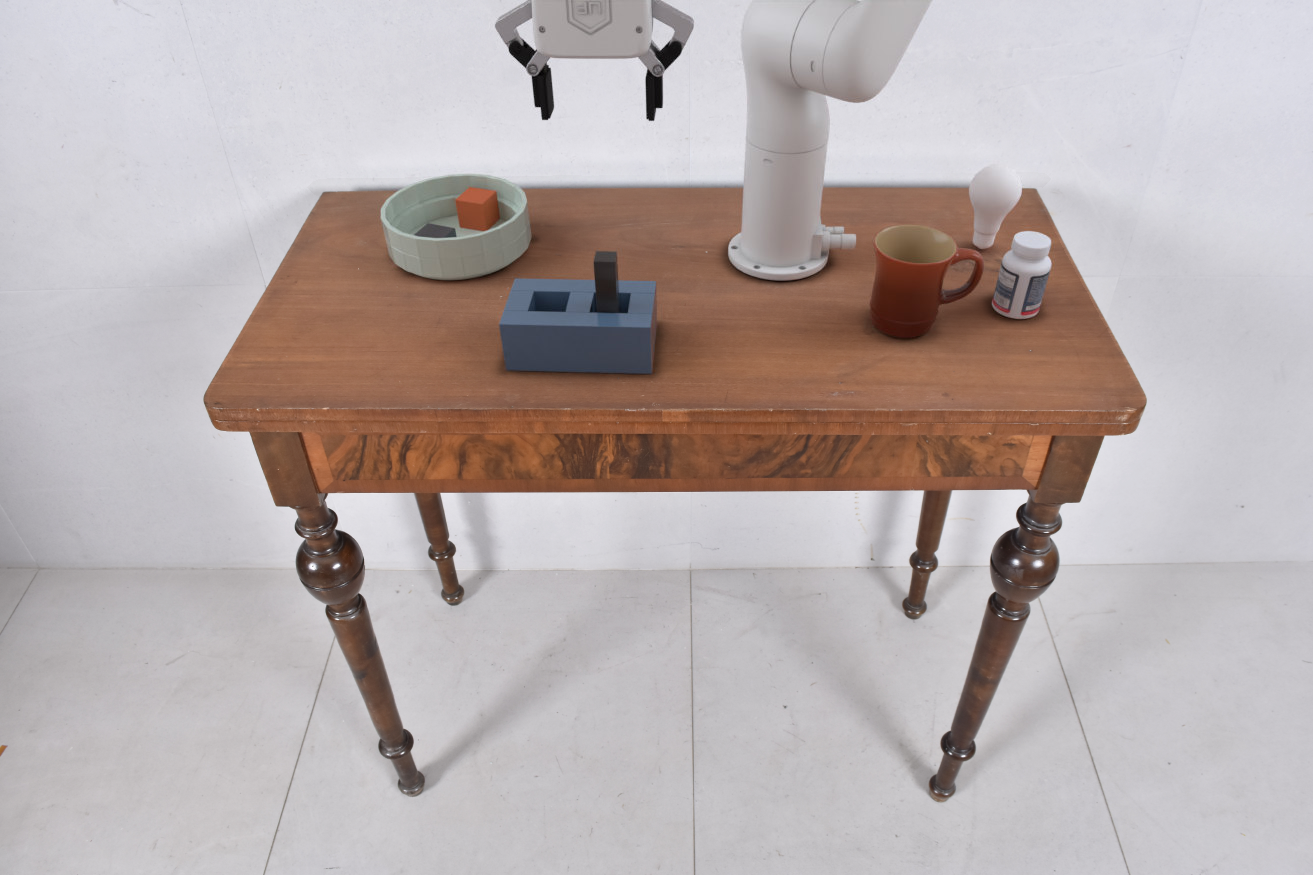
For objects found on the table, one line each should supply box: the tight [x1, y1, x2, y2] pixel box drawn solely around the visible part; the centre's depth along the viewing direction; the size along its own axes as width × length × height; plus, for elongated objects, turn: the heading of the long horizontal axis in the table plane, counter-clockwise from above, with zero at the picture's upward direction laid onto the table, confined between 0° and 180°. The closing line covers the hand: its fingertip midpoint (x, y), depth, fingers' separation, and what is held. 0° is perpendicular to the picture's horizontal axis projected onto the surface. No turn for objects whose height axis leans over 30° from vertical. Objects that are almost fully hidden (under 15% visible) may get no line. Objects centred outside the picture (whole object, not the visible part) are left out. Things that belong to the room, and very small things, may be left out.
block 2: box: [455, 187, 500, 231], centre depth 123 cm, size 4×4×4 cm
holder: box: [498, 277, 658, 375], centre depth 101 cm, size 9×16×6 cm, turn 86°
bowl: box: [380, 173, 532, 281], centre depth 119 cm, size 18×18×6 cm
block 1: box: [414, 223, 457, 238], centre depth 115 cm, size 4×4×4 cm
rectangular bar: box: [593, 250, 620, 313], centre depth 98 cm, size 2×2×12 cm
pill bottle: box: [991, 230, 1052, 320], centre depth 105 cm, size 5×5×9 cm
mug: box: [869, 224, 985, 339], centre depth 102 cm, size 12×9×10 cm
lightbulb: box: [968, 163, 1023, 250], centre depth 115 cm, size 6×6×11 cm
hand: (599, 115), depth 86 cm, fingers open, 9 cm apart
